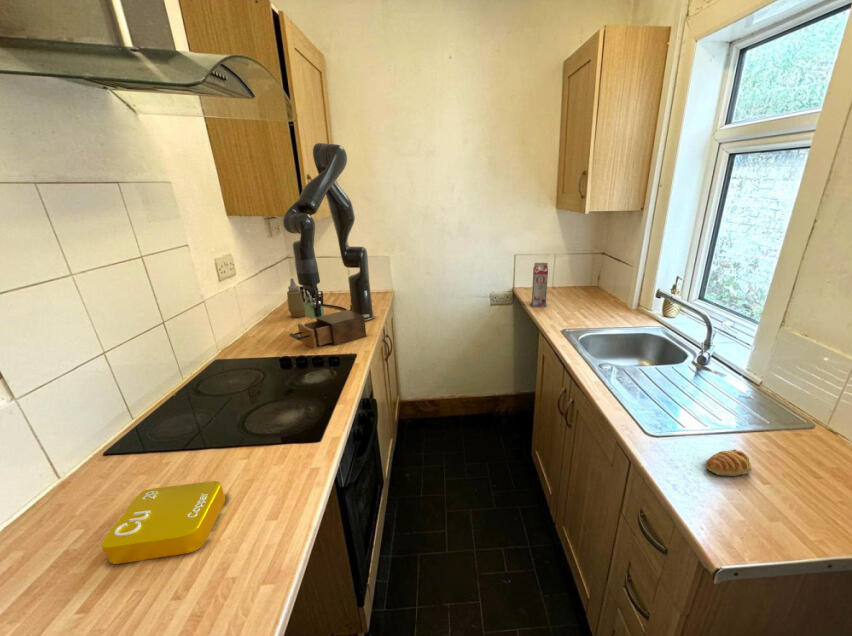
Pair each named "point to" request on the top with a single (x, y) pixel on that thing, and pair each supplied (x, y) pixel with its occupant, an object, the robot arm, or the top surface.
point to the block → (311, 310)
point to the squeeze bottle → (295, 300)
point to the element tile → (165, 522)
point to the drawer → (314, 333)
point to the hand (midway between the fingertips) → (315, 315)
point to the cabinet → (345, 326)
